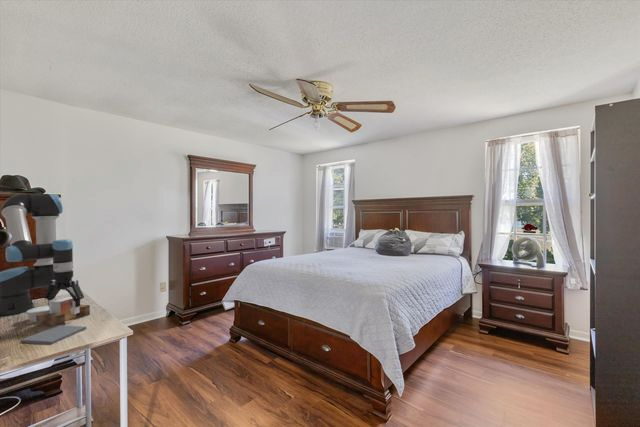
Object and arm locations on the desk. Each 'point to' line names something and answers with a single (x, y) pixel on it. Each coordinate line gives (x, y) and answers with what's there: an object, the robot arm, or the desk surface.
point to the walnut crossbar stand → (59, 317)
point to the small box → (64, 307)
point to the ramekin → (36, 312)
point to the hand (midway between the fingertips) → (64, 313)
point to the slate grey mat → (53, 334)
